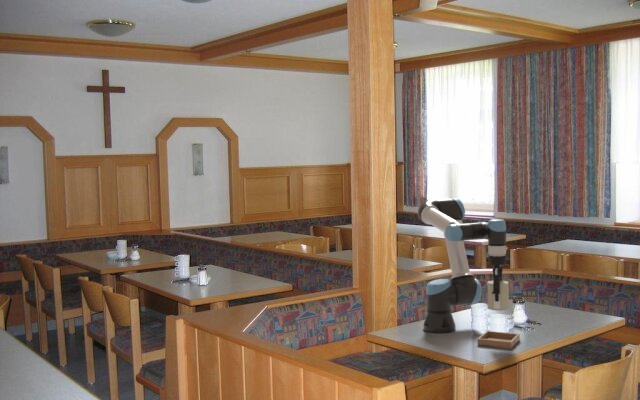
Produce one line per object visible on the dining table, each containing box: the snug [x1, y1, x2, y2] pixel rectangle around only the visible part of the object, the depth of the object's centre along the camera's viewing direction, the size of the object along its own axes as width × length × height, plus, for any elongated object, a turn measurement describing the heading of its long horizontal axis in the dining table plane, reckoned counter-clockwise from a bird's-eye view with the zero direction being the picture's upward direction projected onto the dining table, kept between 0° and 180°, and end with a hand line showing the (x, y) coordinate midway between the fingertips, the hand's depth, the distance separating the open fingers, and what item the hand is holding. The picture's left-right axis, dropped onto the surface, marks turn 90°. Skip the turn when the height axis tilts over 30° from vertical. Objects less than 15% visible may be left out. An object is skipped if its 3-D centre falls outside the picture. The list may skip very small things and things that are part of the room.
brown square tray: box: [476, 330, 521, 350], centre depth 306 cm, size 15×15×3 cm
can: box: [486, 280, 510, 312], centre depth 305 cm, size 9×9×12 cm
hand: (498, 306), depth 305 cm, fingers closed on can, 9 cm apart
